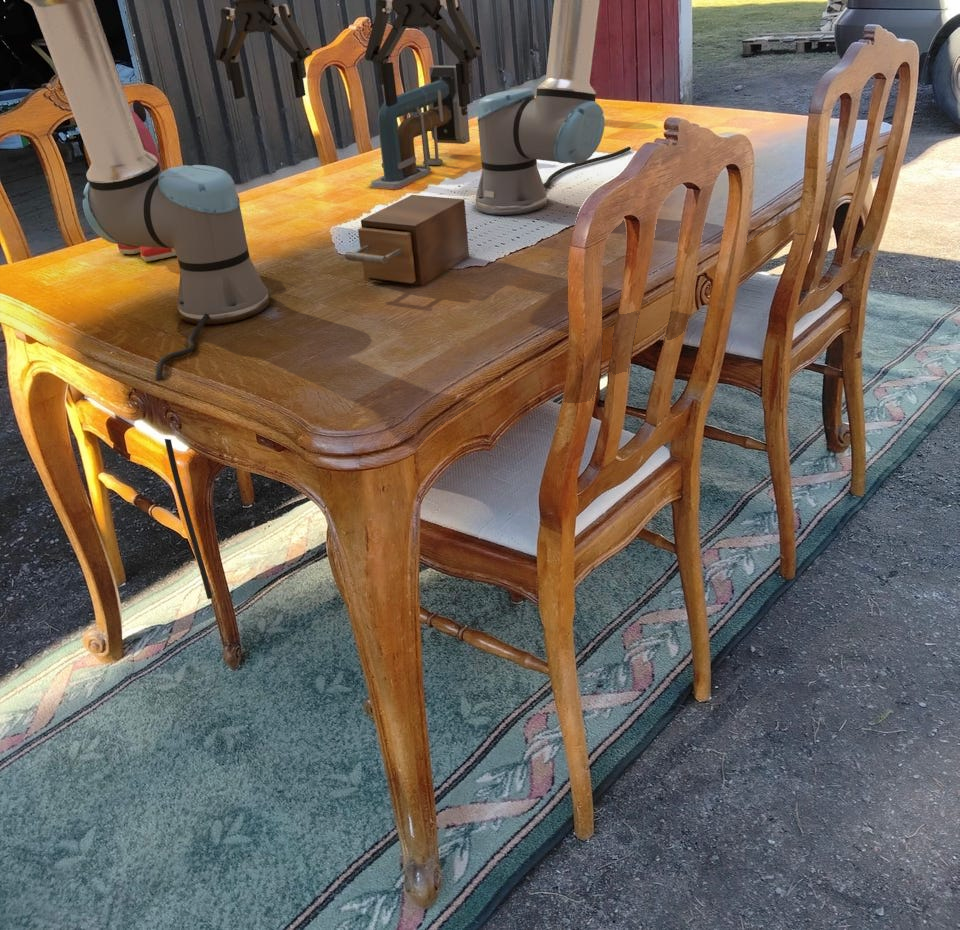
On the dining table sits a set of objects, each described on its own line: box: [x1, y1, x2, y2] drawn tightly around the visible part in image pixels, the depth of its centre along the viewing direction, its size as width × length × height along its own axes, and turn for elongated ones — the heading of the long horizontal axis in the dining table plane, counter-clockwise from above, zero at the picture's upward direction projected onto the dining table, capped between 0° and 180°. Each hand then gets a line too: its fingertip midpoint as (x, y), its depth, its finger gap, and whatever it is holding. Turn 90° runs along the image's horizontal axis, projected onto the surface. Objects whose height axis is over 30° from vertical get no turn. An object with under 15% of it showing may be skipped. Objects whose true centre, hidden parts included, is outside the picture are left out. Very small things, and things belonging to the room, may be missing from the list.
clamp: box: [369, 64, 471, 190], centre depth 235 cm, size 35×9×21 cm, turn 151°
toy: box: [83, 99, 177, 262], centre depth 190 cm, size 21×10×30 cm, turn 47°
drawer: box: [345, 227, 416, 284], centre depth 171 cm, size 21×10×9 cm, turn 150°
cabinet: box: [360, 194, 470, 286], centre depth 175 cm, size 16×12×11 cm
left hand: (270, 97), depth 192 cm, fingers open, 13 cm apart
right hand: (427, 105), depth 161 cm, fingers open, 13 cm apart
